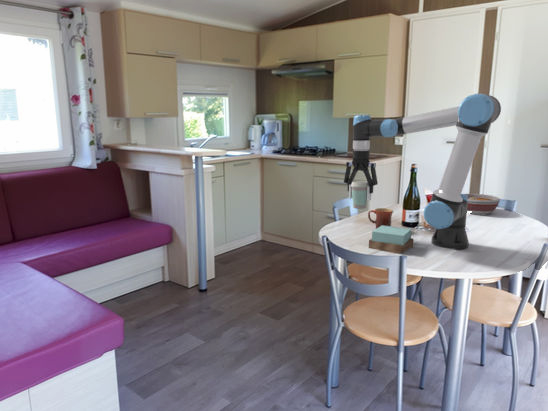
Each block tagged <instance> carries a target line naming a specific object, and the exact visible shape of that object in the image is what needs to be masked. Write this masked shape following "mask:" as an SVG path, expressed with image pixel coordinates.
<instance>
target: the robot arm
mask: <svg viewBox="0 0 548 411" xmlns="http://www.w3.org/2000/svg"><path fill="white" fill-rule="evenodd" d="M501 105H502V104H501V103H500V101H499V99H497V98H496V97H495V96H493V95H490V94H485V93H480V92H479V93H473V94H470V95H468V96H466V97H465V98H463V100H462V101H461V102H460V103H459V106H455V107H449V108H445V109H443V108H442V109H440V110H434V111H430V112H425V113H420V114H419V113H418V114H415V115H409V116H404V117H400V118H393V119H391V118H385V119H384V118H383V119H372V117H371V115H369V114H361V115H360V114H358V115H357V114H356V115H354V116H353V122H352V123H353V124H352V132H353V134H352V150H353V151H352V161H347V162H346V166H345V167H346V169H345V172H344V178H343V183H344V184H346V186H347V192H348V199H349V200H353V198H352V187H351V184H352V182H353V181H355V177H356V175H357V173H358V172H359V171H361V172H363V173H364V176H365V179H366V181H367V182H368V184H369V186H367V202H370V201H372V194H374V186H377V185H379V184H378V183H379V182H378V177H377V171H376V166H377V164H376V162H371V161H370V155H371V154H370V152H371V151H370V148H371V147H370V146H371V145H370V144H371V137H372V138H375V137H376V138H393V137H400V136H404V135H409V134H415V133H420V132H426V131H431V130H437V129H443V128H448V127H456V129H457V131H458V132H457V134H456V135H457V136H456V137H455V140H454V143H453V146H452V149H451V152H450V155H449V158H448V160H447V163H446V166H445V169H444V173H443V175H442V179H441V182H440V184H439V187H438V189H436V190H434V191H433V193H432V195H431V198H430V201H429V202H428V203H427V205H425V207H424V210H423V218H424V220H425V222H426V224H427V225H429V226H430V227H432V228H434V232H433V234H432V236H431V244H432V245H433V246H436V247H440V248H444V249H451V250H452V249H453V250H462V249H467V248H469V239H468V234H467V230H466V226H467V225H466V224H467V214H468V213H467V205H468V196H467V195H466V194H467V193H462V191H463V189H464V187H465V185H466V181H467V178H468V175H469V172H470V170H471V167H472V165H473V162H474V160H475V159H474V158H475V156H476V153H477V150H478V148H479V146H480V142H481V140H482V138H483V137H484V136H486V135H488V133H489V130H490V127H491V126H492V124H494V122H496V121H497V120H498V118H499V117H500V115H501V111H502V106H501ZM352 167H353V169H352ZM369 167H370V169H369Z"/></svg>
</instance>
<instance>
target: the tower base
mask: <svg viewBox="0 0 548 411" xmlns="http://www.w3.org/2000/svg"><path fill="white" fill-rule="evenodd" d="M414 240H415V239H414V238H412V237H411V239H409V240H408V241H407V242H406V243H405V244H404V245H397V244H391V243H384V242H377V241H372V238H371V239H369V240H368V249H372V250H378V251H381V252H382V251H383V252H387V253H393V254H398V255H402V254H403V253H404V252H406V251H408V250H409V249H412V248H414Z"/></svg>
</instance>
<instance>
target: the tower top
mask: <svg viewBox="0 0 548 411" xmlns="http://www.w3.org/2000/svg"><path fill="white" fill-rule="evenodd" d="M371 233H372V234H371V239H372V241H377V242H384V243H391V244H397V245H404V244H405V243H406V242H407V241H408V240H409V239H411V238H412V228H406V227H397V226H392V225H391V226H384V225H382V226H380V227H379V228H377V229H376V228H375V229H374V230H372V232H371Z"/></svg>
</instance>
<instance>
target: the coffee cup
mask: <svg viewBox="0 0 548 411" xmlns="http://www.w3.org/2000/svg"><path fill="white" fill-rule="evenodd" d="M367 186H369V184H368V181H367V180H353V182H352V184H351V187H352V205H353V206H352V207H353V209H357V210H365V209H367V203H368V201H367Z"/></svg>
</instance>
